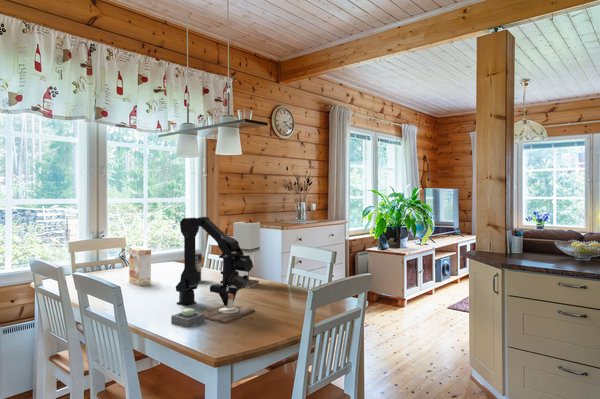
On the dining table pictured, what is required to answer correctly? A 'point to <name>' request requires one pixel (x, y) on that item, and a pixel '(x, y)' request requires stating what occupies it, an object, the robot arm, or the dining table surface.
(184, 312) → the button
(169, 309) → the dining table surface
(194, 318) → the button housing
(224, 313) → the colouring board
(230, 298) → the mushroom
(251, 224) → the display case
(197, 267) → the coffee box
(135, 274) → the coffeecake box
